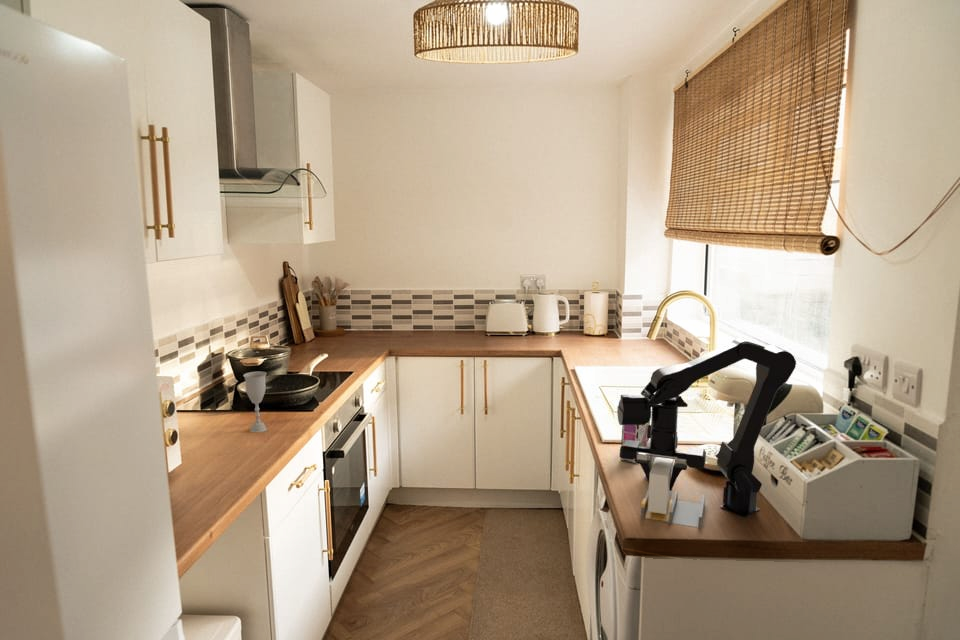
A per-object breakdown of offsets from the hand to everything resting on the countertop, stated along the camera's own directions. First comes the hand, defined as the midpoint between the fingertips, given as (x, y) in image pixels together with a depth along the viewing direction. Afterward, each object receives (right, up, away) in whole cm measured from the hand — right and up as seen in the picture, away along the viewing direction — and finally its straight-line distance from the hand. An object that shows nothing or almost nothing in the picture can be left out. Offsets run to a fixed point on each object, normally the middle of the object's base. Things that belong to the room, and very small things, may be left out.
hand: (660, 488), depth 158 cm
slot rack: (+3, -5, 0) cm, 6 cm away
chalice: (-112, +4, +56) cm, 125 cm away
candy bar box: (+2, 0, +35) cm, 35 cm away
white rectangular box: (0, -3, +1) cm, 3 cm away
